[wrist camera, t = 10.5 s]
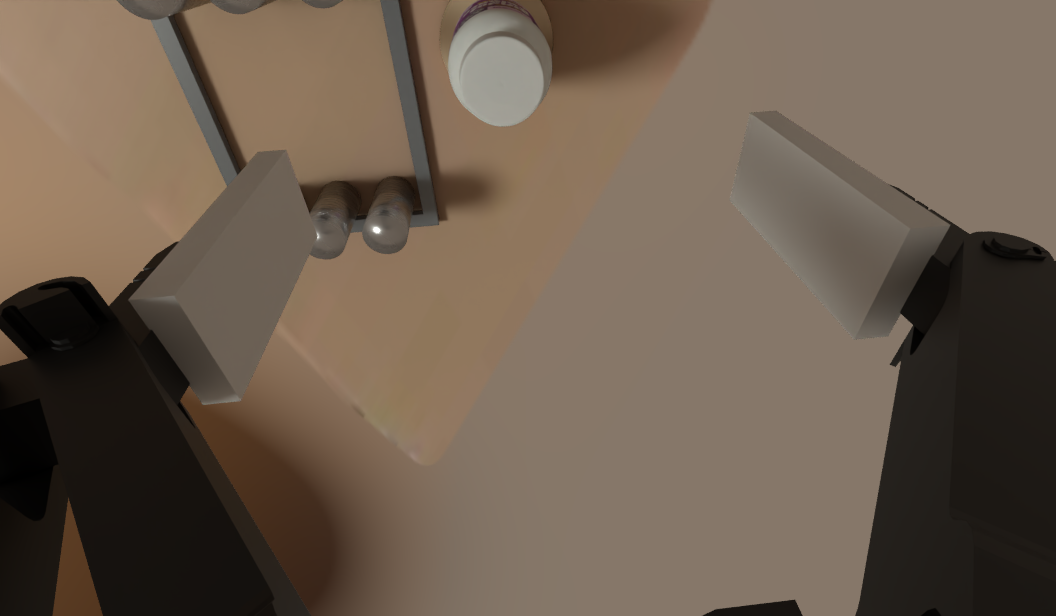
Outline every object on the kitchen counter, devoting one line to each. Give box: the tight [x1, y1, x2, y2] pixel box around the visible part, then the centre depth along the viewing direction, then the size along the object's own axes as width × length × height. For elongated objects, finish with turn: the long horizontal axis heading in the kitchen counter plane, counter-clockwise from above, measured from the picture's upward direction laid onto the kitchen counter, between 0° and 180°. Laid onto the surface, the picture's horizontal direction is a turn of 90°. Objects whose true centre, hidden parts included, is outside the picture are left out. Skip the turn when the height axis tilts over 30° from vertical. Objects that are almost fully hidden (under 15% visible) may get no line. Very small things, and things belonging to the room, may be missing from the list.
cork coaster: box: [440, 0, 553, 70], centre depth 31 cm, size 7×7×1 cm
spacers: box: [117, 0, 415, 259], centre depth 29 cm, size 17×11×6 cm, turn 3°
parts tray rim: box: [151, 0, 439, 233], centre depth 32 cm, size 19×14×1 cm
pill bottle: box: [448, 0, 552, 127], centre depth 27 cm, size 5×5×10 cm
